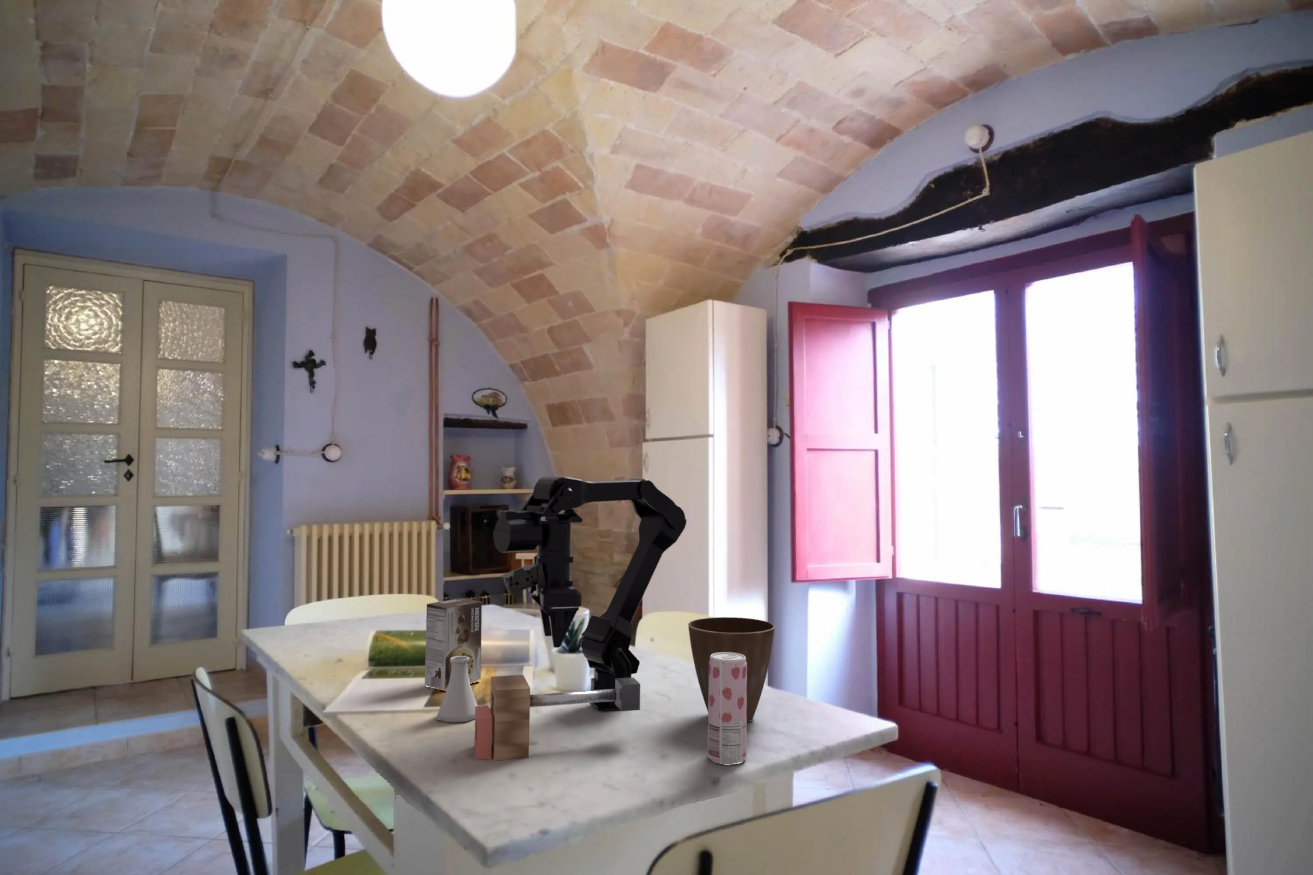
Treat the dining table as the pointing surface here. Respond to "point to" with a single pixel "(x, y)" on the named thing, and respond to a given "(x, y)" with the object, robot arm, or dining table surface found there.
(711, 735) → the beverage can
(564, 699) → the shaft
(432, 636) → the coffee box
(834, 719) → the dining table surface
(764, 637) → the plant pot
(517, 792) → the dining table surface
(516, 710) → the block
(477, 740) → the block
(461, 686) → the flask
